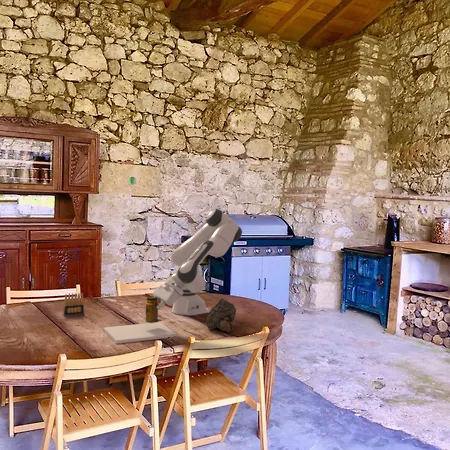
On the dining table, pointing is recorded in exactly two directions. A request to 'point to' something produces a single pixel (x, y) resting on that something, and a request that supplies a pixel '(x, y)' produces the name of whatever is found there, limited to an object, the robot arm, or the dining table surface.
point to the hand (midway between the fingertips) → (154, 306)
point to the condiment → (152, 310)
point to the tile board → (138, 332)
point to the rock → (221, 316)
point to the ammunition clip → (73, 305)
